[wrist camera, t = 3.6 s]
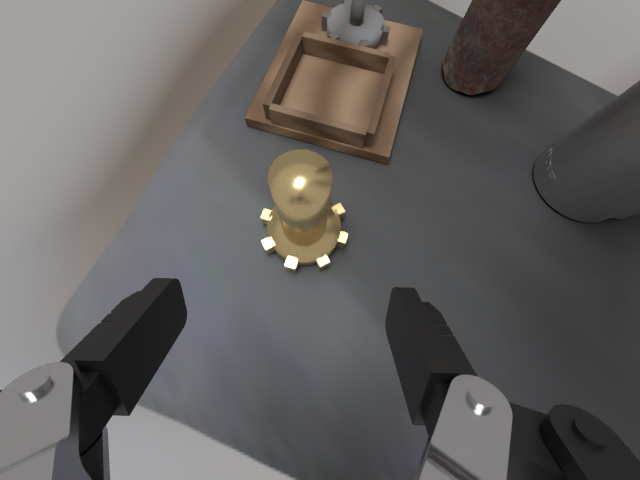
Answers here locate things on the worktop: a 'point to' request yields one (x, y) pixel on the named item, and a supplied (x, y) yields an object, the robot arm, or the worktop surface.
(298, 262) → the gear shaft
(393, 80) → the gear board
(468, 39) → the candle
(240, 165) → the worktop surface
